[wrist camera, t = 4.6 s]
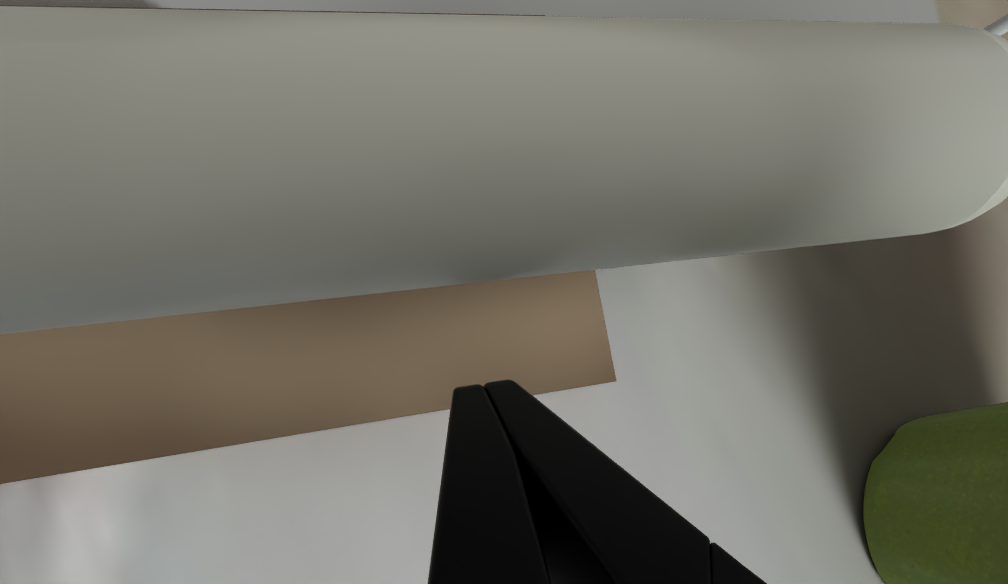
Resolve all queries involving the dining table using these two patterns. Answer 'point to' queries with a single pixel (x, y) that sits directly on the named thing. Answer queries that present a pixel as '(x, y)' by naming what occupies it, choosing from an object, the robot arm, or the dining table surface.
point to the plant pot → (941, 500)
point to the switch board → (285, 367)
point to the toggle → (461, 149)
